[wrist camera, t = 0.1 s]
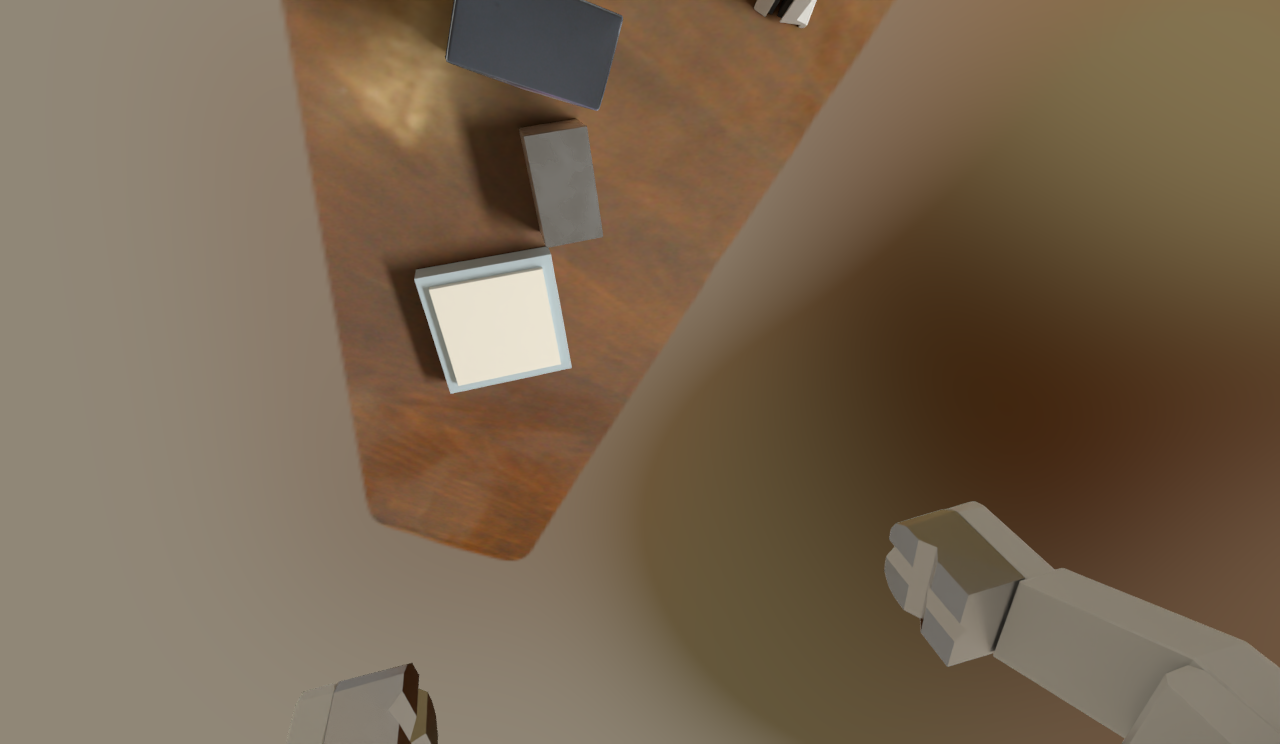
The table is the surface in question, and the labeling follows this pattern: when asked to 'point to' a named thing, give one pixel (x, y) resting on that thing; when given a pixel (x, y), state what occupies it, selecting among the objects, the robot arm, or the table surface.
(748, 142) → the table surface
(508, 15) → the small box
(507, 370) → the stand
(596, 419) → the table surface
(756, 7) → the white slotted block
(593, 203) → the block
